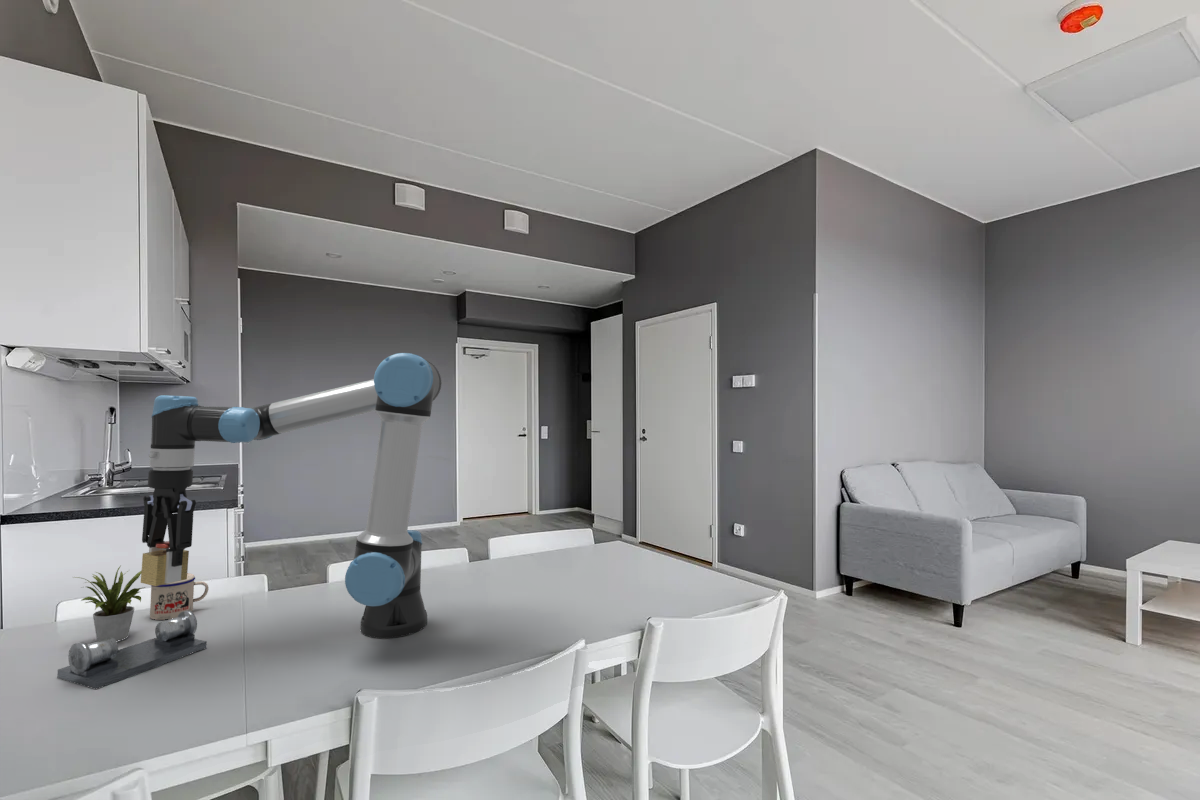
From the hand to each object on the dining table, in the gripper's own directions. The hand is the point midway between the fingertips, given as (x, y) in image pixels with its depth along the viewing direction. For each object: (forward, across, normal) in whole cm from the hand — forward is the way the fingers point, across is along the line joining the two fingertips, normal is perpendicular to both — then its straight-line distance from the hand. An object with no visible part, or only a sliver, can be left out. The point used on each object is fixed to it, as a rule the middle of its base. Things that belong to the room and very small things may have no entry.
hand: (164, 579), depth 118 cm
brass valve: (0, 0, 0) cm, 0 cm away
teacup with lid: (+16, -23, +18) cm, 34 cm away
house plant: (+16, -19, 0) cm, 25 cm away
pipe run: (+16, -1, -4) cm, 16 cm away
